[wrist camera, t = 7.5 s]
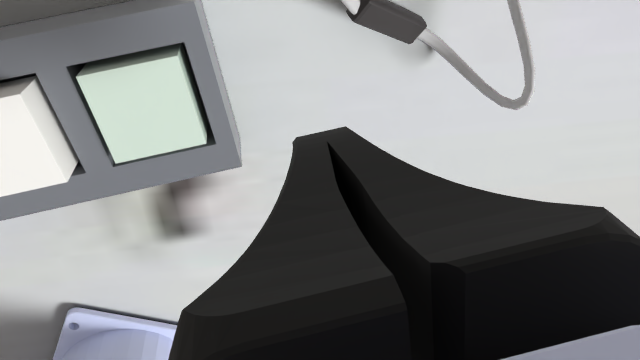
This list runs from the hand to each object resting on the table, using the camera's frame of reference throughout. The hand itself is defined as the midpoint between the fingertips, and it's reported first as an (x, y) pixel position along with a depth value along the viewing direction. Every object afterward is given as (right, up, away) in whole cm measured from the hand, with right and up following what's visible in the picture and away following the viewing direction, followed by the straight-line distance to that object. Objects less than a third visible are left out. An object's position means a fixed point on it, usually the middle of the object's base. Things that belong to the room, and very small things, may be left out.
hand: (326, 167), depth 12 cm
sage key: (-7, +3, +7) cm, 10 cm away
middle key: (-11, +2, +6) cm, 13 cm away
